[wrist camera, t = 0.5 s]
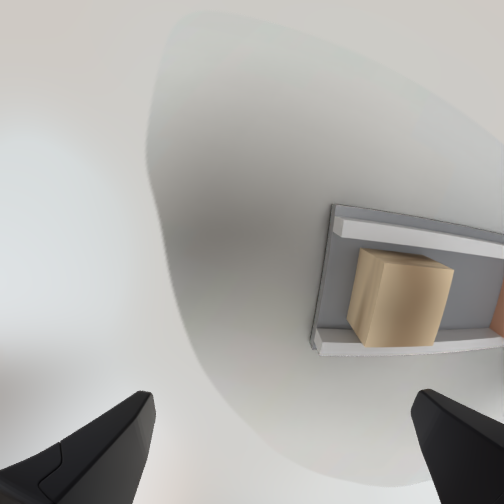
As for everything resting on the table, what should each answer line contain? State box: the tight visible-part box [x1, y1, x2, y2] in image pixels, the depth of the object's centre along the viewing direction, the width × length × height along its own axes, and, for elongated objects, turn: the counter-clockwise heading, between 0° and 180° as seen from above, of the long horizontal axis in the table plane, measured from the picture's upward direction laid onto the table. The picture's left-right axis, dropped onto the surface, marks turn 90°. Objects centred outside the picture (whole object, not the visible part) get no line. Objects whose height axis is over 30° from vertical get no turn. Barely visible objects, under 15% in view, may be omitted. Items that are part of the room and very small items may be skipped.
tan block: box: [346, 248, 454, 347], centre depth 17 cm, size 5×5×4 cm
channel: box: [310, 204, 504, 356], centre depth 18 cm, size 19×10×5 cm, turn 84°
